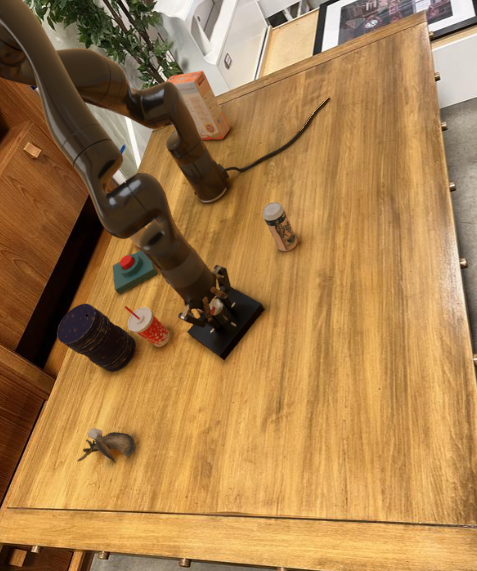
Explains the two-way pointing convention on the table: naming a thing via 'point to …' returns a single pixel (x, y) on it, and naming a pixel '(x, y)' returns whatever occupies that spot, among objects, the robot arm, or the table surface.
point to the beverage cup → (148, 326)
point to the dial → (220, 312)
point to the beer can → (279, 226)
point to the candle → (137, 237)
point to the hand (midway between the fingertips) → (222, 316)
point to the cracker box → (202, 104)
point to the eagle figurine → (109, 444)
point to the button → (127, 262)
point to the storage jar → (96, 338)
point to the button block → (133, 272)
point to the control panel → (229, 325)
